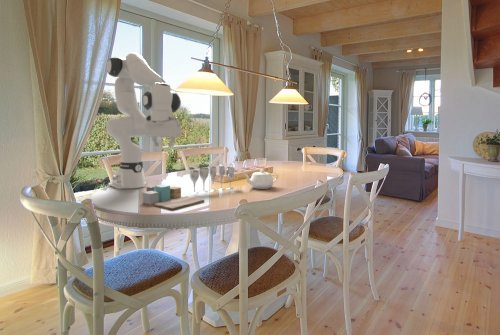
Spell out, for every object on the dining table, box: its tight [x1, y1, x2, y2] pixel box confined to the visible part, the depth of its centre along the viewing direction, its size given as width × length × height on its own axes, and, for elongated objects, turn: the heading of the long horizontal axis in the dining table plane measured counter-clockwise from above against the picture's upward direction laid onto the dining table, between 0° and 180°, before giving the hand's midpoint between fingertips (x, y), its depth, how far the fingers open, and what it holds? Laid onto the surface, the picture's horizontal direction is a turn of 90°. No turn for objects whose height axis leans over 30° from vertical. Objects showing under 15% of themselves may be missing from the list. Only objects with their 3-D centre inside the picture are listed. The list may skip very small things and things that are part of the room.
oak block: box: [170, 186, 182, 200], centre depth 173 cm, size 5×5×5 cm
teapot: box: [243, 168, 279, 190], centre depth 201 cm, size 22×14×11 cm, turn 112°
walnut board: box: [153, 195, 205, 211], centre depth 161 cm, size 12×20×1 cm, turn 144°
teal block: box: [154, 184, 171, 202], centre depth 168 cm, size 5×5×7 cm
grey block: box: [142, 191, 160, 205], centre depth 162 cm, size 5×5×5 cm
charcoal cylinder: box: [145, 186, 155, 192], centre depth 173 cm, size 4×4×5 cm
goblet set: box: [189, 165, 236, 195], centre depth 191 cm, size 28×6×13 cm, turn 127°
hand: (163, 146), depth 165 cm, fingers open, 8 cm apart
